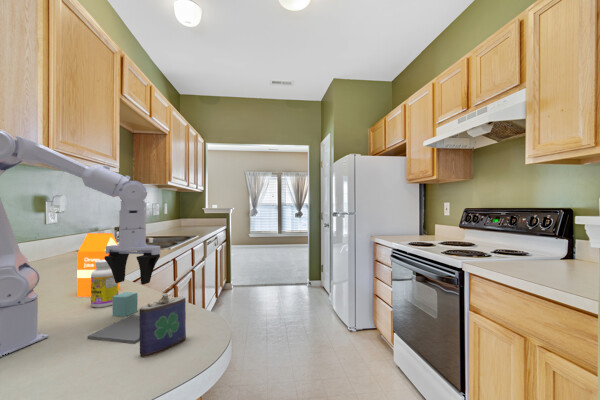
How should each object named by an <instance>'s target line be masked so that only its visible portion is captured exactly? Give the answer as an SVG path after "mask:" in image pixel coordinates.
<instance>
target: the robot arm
mask: <svg viewBox="0 0 600 400" xmlns="http://www.w3.org/2000/svg"><path fill="white" fill-rule="evenodd" d="M14 137H15V138H14ZM22 163H26V164H28V165H30V164H44V165H46V166H49V167H52V168H54V169H57V170H60V171H63V172H66V173H68V174H71V175H73V176H74V177H78V178H80V179H81V180H82V182H83V184H84V186H85V187H86V188H87V187H88V188H89V189H92V190H94V191H96V192H99V193H102V194H105V195H107V196H110V197H112V198H116V197H119V199H120V200H121V201H120V210H119V211H118V212H119V217H118V218H119V222H118V223H119V224H118V226H119V230H118V231H119V234H118V235H119V238H118V241H119V242H118V245H110V246H106V247H105V254H109V256H105V257H104V259H105V260H106V262H107V263H108V265H109V266H110V268H111V271H112V273H113V276H114V280H115V283H119V284H120V283H122V282H123V283H124V282H125V280H126V268H127V267H126V266H127V262H128V258H129V256H130V255H138V256H136V260H137V263H138V265H139V266H138V267H139V271H140V274H139V276H140V284H141V285H147V284H149V283H151V278H152V275H153V272H154V269H155V267H156V264H158V263H157V262H158V261H159V259H160V258H161V245H151V244H150V245H149V244H147V241H146V240H147V239H146V238H147V237H146V236H147V234H146V232H147V231H146V230H147V221H146V219H147V211H146V202H145V199H146V198H147V196H148V192H147V189H146V186H145V185H144V184H143V183H142V182H140V181H137V180H130V179H131V176H130V175H127V174H126V175H125V176H124V175H122V174H121V173H118V172H115V171H113V170H111V167H110V166H109V165H106V164H104V165H103V166H102V165H100V164H94V165H91V166H90V165H86V164H84V163H82V162H80V161H77V160H76V159H73V158H71V157H69V156H67V155H65V154H63V153H61V152H58V151H56V150H54V149H52V148H50V147H47V146H46V145H43V144H42V143H38V142H35V141H33V140H31V139H27V138H26V137H23V136H20V135H16V134H13V136H12V135H11V134H10V133H8V132H7V131H5V130H3V129H0V177H1V176H2V175H3V174H4V173H5V172H6V171H7V170H10V169H11V168H13V167H17V166H18V165H20V164H22ZM4 206H5V205H4V203H3V202H2V198H0V356H1V357H3V356H2V355H4V356H6V355H8V353H9V354H11V353H13V352H16V351H18V350H21V349H23V348H25V347H28V346H29V345H32V344H35V343H36V342H39V341H42V340H44V339H46V338H48V337H49V334H48V333H38V313H39V312H38V308H39V307H38V305H39V296H38V295H39V294H38V293H36V292H35V288H36V287H37V286H38V284H39V282H40V273H39V271H38V270H37V269H36V268H34V267H33V266H32V265H31V264H30V262H29V261H28V258H27V257H26V256H25V255H24V254H23V252H22V251H21V250H20V249H21V248H20V246H19V243H18V241H17V239H16V236H15V234H14V230H13V228H12V225H11V222H10V220H9V217H8V215H7V212H6V209H5V207H4ZM5 354H6V355H5Z"/></svg>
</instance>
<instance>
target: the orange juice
mask: <svg viewBox="0 0 600 400" xmlns="http://www.w3.org/2000/svg"><path fill="white" fill-rule="evenodd" d="M110 245H119V243H118V242H117V239H116V238H115V236H114V234H113V233H112V232H105V233H104V232H103V233H102V232H101V233H100V232H98V233H95V232H93V233H91V232H90V233H87V234H86V235H85V238H84V240H83V242H82V243H81V244H80V247H79V249H78V251H77V271H76V272H77V273H76V277H77V278H76V279H77V287H76V288H77V289H76V290H77V292H76V293H77V295H76V296H77V297H78V298H79V297H81V298H82V297H87V298H88V297H90V298H91V273H92V272H93V271H94V270H96V266H95V262H96V261H99V260H105V259H104V257H105V256H109V254H105V247H106V246H110ZM118 291H120V283H118Z"/></svg>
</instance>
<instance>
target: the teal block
mask: <svg viewBox="0 0 600 400" xmlns="http://www.w3.org/2000/svg"><path fill="white" fill-rule="evenodd" d="M136 312H138V292H128V291H125V292H122V293H118V295H116V296H113V305H112V316H114V317H121V318H123V317H124V318H126V317H128V316H130V315H133V314H134V313H136Z"/></svg>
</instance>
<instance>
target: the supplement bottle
mask: <svg viewBox="0 0 600 400" xmlns="http://www.w3.org/2000/svg"><path fill="white" fill-rule="evenodd" d="M95 266H96V270H94V271H93V272H92V273H91V297H90V306H91V307H92V308H105V307H110V306H113V296H116V295H119V290H118V283H115V280H114V276H113V273H112V271H111V268H110V266H109V265H108V263H107V262H106V260H99V261H96V262H95Z"/></svg>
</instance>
